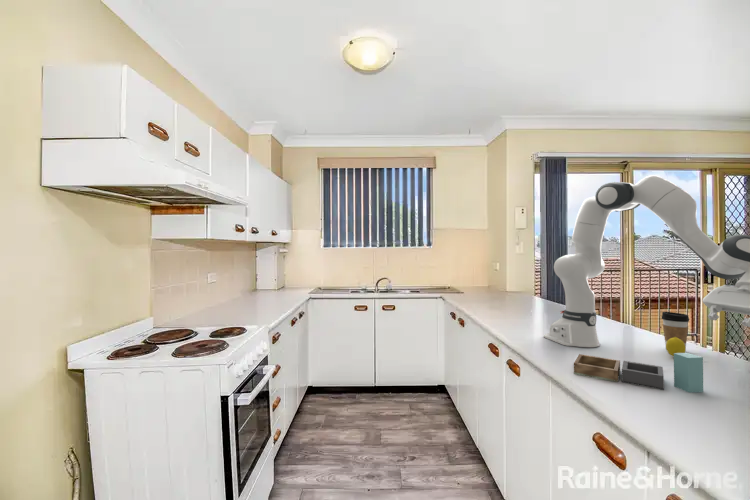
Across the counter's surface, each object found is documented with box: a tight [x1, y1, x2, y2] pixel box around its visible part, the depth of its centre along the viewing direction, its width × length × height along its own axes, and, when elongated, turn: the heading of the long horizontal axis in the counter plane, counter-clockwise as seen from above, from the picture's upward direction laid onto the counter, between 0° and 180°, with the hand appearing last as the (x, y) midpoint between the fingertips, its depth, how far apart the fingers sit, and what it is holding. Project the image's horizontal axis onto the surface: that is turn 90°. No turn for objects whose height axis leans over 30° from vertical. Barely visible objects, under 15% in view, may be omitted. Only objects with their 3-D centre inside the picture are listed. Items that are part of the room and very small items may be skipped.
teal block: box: [673, 352, 704, 394], centre depth 101 cm, size 4×4×10 cm
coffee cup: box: [661, 311, 690, 347], centre depth 137 cm, size 8×8×15 cm
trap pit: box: [621, 360, 665, 391], centre depth 107 cm, size 10×10×4 cm
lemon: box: [665, 337, 687, 358], centre depth 128 cm, size 6×6×8 cm
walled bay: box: [573, 353, 621, 383], centre depth 115 cm, size 12×12×4 cm
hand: (727, 321), depth 101 cm, fingers open, 8 cm apart
